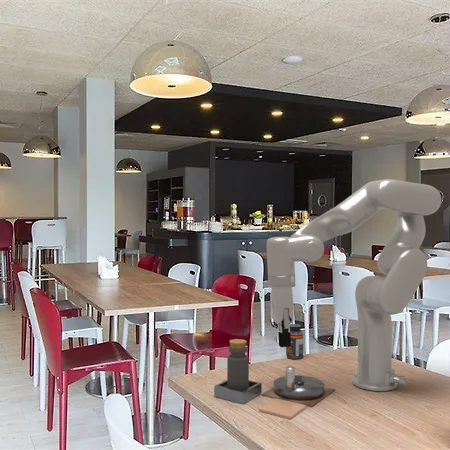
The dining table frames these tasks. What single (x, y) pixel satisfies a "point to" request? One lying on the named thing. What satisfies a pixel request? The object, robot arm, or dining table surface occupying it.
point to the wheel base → (308, 402)
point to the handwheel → (298, 386)
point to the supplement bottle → (295, 342)
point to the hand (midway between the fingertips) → (284, 346)
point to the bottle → (238, 366)
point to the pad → (283, 408)
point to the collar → (238, 392)
